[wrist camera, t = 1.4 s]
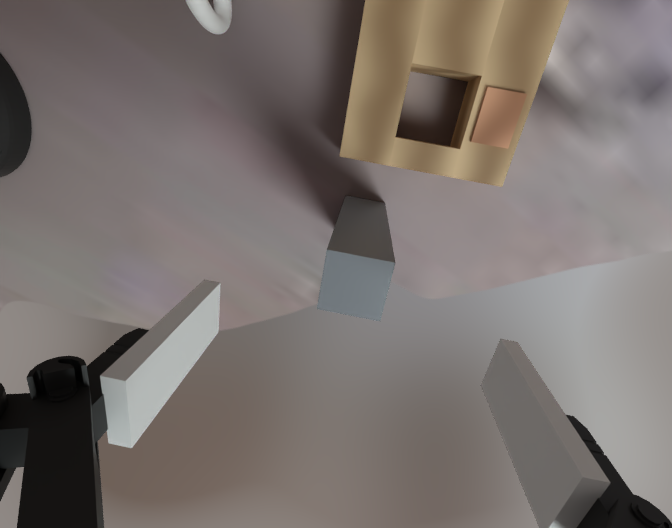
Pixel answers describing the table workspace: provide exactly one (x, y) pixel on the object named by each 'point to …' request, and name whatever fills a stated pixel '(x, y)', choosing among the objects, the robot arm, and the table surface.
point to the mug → (212, 14)
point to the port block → (451, 62)
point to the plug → (358, 261)
